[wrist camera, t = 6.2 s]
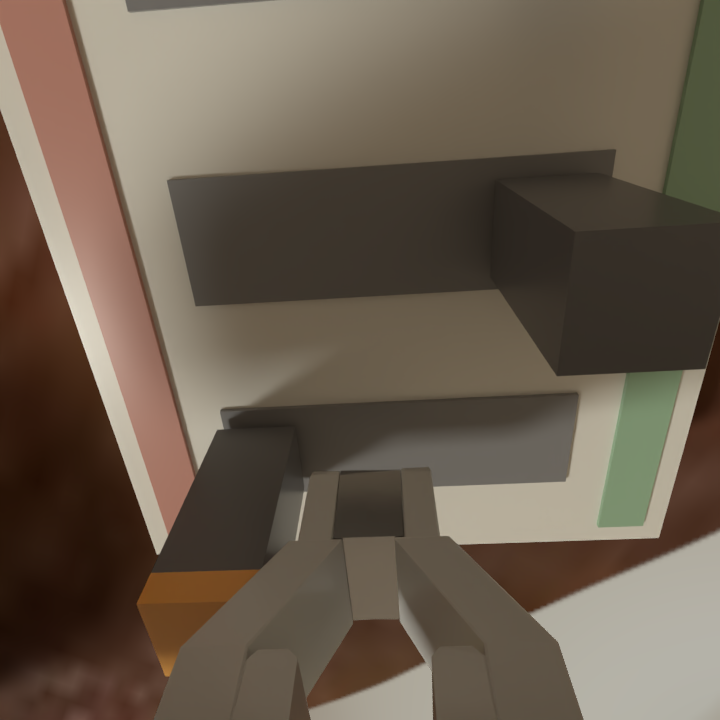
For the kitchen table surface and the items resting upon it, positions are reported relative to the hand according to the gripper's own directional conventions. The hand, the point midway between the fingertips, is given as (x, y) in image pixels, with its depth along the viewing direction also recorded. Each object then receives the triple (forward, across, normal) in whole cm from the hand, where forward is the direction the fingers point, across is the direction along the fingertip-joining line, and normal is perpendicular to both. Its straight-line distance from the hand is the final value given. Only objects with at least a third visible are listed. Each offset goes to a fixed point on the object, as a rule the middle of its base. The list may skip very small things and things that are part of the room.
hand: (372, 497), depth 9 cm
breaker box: (+5, 0, -4) cm, 6 cm away
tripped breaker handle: (+2, +2, 0) cm, 3 cm away
